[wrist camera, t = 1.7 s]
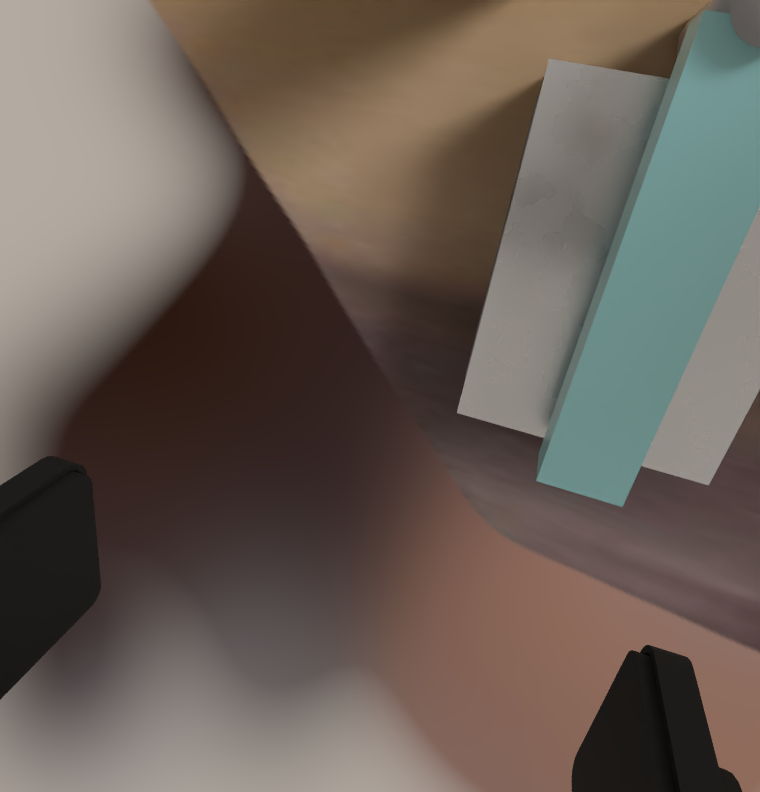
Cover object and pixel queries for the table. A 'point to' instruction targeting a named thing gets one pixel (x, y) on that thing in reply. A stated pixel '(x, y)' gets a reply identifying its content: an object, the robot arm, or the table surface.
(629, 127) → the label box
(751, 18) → the swing bar
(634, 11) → the table surface
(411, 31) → the table surface
